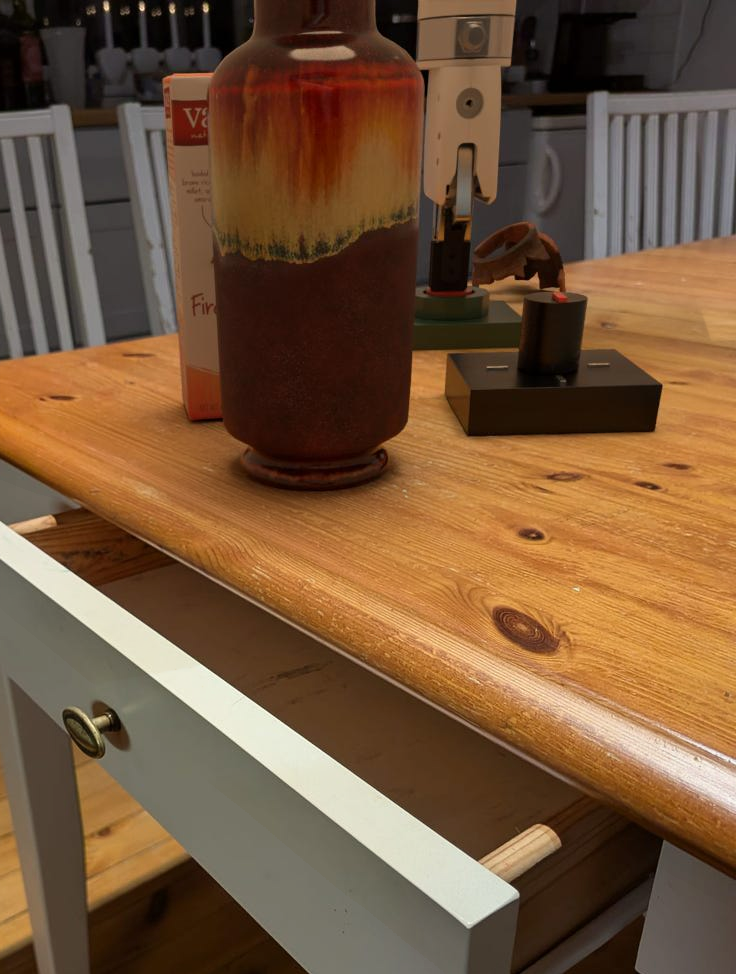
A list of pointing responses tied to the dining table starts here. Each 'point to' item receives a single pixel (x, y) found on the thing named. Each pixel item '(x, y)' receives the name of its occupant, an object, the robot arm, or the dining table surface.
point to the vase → (315, 240)
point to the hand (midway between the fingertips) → (447, 289)
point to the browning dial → (552, 332)
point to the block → (464, 322)
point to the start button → (449, 292)
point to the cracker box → (193, 242)
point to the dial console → (551, 395)
